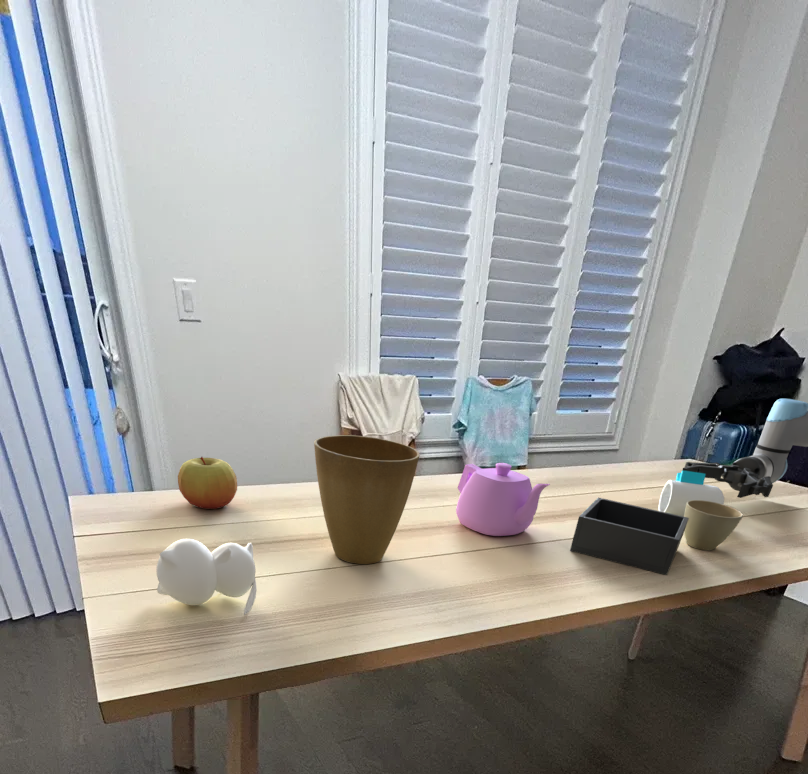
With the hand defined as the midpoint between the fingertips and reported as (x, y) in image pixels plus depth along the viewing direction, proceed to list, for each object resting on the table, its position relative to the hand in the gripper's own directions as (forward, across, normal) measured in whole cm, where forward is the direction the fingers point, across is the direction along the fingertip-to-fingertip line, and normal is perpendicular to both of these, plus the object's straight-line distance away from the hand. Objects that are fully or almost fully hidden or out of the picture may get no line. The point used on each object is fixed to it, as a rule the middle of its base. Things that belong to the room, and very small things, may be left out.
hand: (711, 482), depth 139 cm
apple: (+95, +47, -6) cm, 106 cm away
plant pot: (+87, +16, -6) cm, 89 cm away
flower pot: (+25, -12, -6) cm, 28 cm away
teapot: (+56, +14, -6) cm, 58 cm away
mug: (+8, 0, -6) cm, 10 cm away
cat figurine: (+115, +12, -6) cm, 115 cm away
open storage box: (+42, -5, -6) cm, 43 cm away
